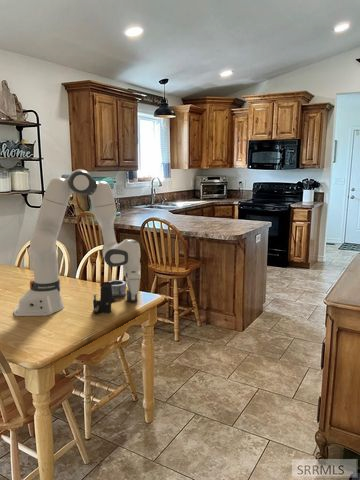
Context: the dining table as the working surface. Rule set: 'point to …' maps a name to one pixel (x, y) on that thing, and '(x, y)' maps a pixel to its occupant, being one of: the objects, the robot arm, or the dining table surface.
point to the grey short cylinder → (118, 288)
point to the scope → (104, 299)
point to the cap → (130, 297)
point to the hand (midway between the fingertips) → (132, 297)
